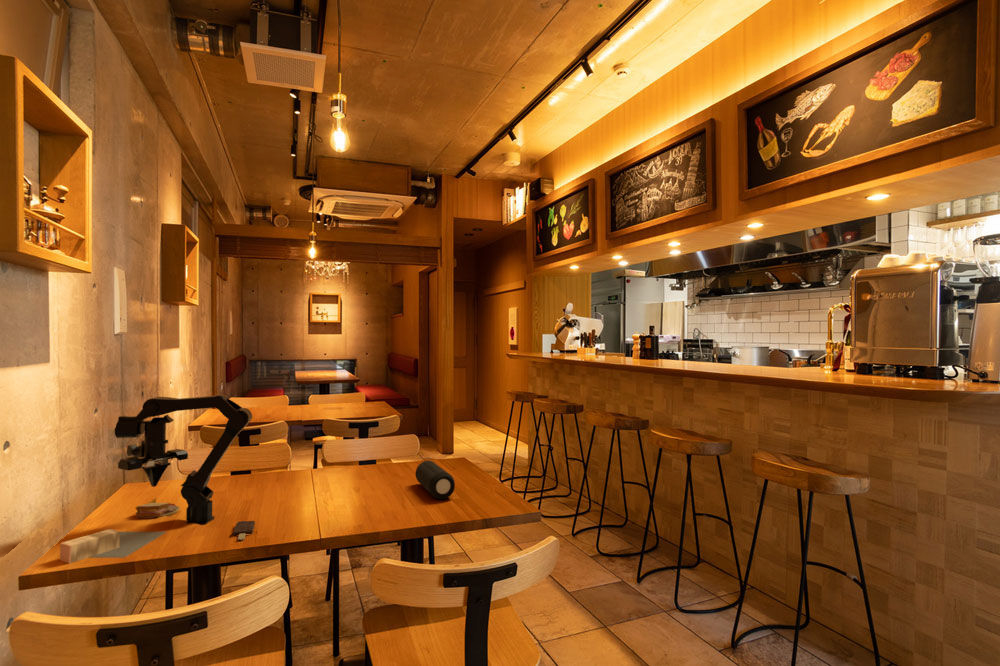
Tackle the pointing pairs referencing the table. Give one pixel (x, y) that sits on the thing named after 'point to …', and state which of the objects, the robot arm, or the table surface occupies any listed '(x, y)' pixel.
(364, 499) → the table surface
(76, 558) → the maple block
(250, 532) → the ice cream bar
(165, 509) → the toy sandwich meal
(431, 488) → the portable speaker
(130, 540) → the rubber mat
